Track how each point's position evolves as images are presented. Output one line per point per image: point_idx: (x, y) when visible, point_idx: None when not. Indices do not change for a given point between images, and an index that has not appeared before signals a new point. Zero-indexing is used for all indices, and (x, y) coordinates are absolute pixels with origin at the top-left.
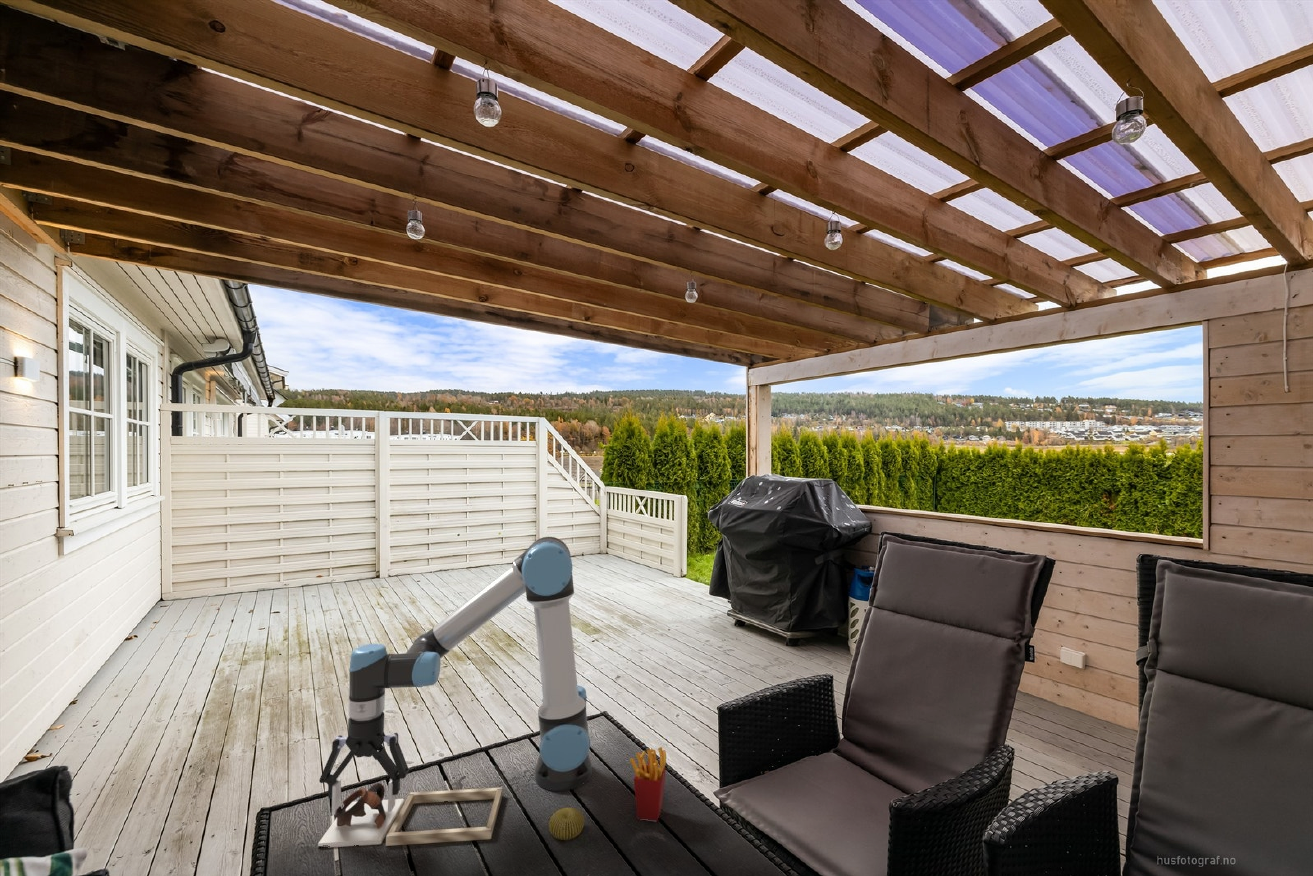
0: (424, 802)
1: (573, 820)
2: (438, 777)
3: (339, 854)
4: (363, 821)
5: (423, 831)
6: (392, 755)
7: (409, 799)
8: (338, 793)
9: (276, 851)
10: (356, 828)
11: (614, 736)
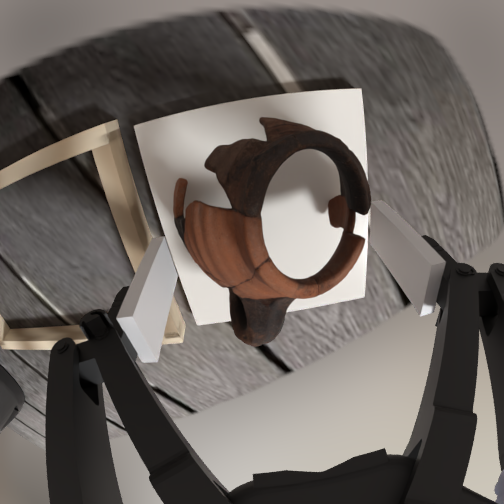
0: None
1: None
2: (178, 393)
3: (258, 57)
4: (262, 212)
5: (16, 176)
6: (73, 466)
7: None
8: (400, 262)
9: (457, 91)
10: None
11: (13, 427)
